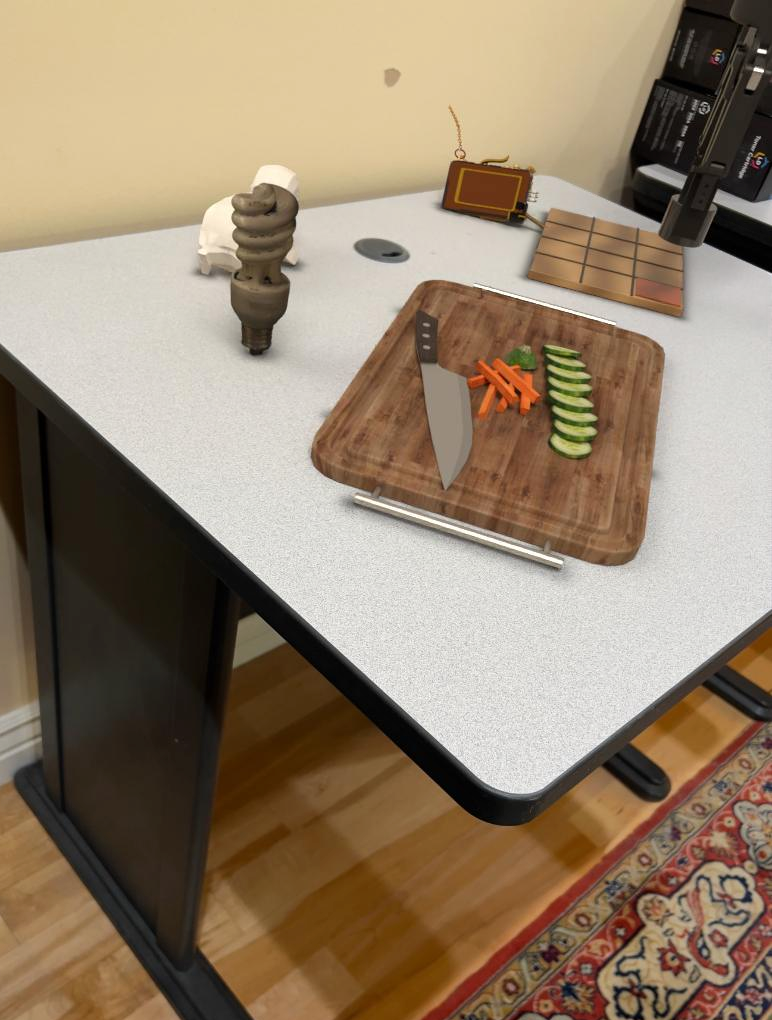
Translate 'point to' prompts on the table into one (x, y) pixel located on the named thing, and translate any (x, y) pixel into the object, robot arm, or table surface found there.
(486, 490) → the chopping board
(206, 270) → the white lumpy sculpture
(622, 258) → the game board
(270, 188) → the light bulb
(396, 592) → the table surface
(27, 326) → the table surface
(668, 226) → the dark grey short cylinder
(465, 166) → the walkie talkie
